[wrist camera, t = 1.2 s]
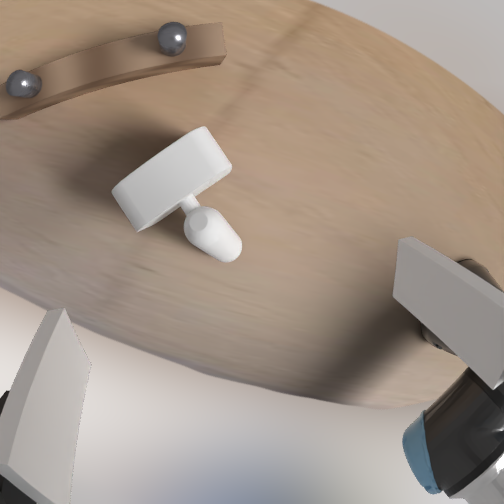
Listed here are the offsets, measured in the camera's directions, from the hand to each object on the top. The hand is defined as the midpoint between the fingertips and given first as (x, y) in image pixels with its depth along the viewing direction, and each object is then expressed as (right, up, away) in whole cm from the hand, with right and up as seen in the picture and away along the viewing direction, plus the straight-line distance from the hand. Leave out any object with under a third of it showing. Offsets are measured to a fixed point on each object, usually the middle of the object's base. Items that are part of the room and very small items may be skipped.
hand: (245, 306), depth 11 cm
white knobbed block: (-5, +7, +18) cm, 20 cm away
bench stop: (-12, +18, +11) cm, 25 cm away
